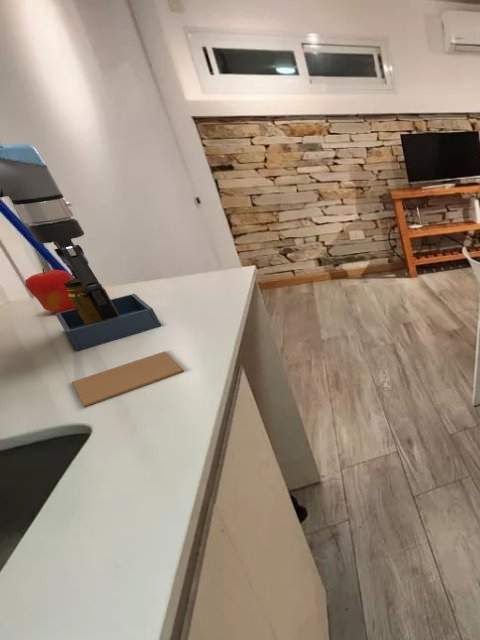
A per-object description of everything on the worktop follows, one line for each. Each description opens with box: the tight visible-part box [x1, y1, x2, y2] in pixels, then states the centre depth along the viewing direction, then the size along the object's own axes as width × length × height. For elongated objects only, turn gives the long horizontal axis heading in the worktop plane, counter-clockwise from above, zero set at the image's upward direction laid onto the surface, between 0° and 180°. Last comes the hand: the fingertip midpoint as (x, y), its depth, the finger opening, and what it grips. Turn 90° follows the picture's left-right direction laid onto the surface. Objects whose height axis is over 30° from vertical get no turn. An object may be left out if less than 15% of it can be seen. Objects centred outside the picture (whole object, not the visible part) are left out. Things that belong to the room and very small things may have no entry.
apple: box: [24, 267, 75, 314], centre depth 125 cm, size 9×8×12 cm
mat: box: [71, 350, 185, 408], centre depth 89 cm, size 14×14×1 cm
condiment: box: [64, 278, 120, 326], centre depth 110 cm, size 7×8×12 cm
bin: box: [54, 293, 162, 352], centre depth 112 cm, size 15×20×4 cm
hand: (104, 311), depth 111 cm, fingers open, 13 cm apart
